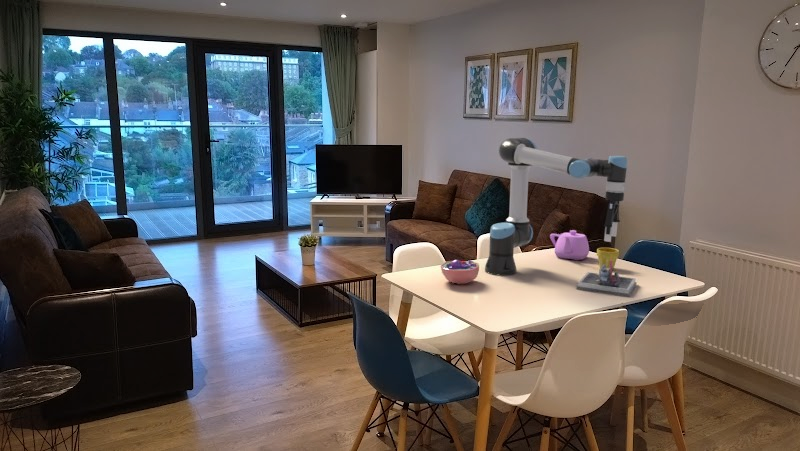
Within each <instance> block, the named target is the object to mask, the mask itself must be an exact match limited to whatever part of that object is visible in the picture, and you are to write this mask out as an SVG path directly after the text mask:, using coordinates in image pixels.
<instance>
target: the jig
mask: <svg viewBox="0 0 800 451" xmlns="http://www.w3.org/2000/svg"><path fill="white" fill-rule="evenodd" d="M596 274H599V272H597V273H596V272H589V271H588V272H587V273H586V274H585V275H584V276H582V278H581V279H580V280H579V281H578V283H577V285H576V286H575V287H576V288H575V289H576V290H579V291H587V292H591V293H592V292H593V293H601V294H607V295H612V296H618V297H619V296H620V297H625V298H630V297H631V295H632V294H633V292H634V290H635V288H636V287H637V282H638V281H637V280H636V278H635V277H627V276H620V275H619V278H620V284H619V286H604V285H603V283H602V282H601V281H596V280H599V277H598V276H597V275H596ZM636 281H637V282H636ZM632 291H633V292H632Z"/></svg>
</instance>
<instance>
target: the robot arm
mask: <svg viewBox="0 0 800 451" xmlns="http://www.w3.org/2000/svg"><path fill="white" fill-rule="evenodd" d="M498 154H499V157H500V158H501V159H502V160H503V162H506V163H508V164H507V166H508V167H509V168H510V185H509V186H510V189H509V210H508V211H509V213H508V217H507V218H506V219H505V222H498V223H494V224H492V225H491V226H490V232H489V255H488V258H487V260H486V262H485V266H484V272H486V273H488V272H489V273H488V274H491V273H492V275H496V274H499V275H498V276H509V275H515V274H516V273H517V265H516V263H515V259H514V252H515V251H514V249H515V248H518V247H524V246H525V245H527V244H529V243H530V242H531V241H532V239H533V237H534V236H533V235H534V231H533V227H532V226H531V223H530V219H529V218H528V217H527V216H528V215H527V214H528V192H529V174H530V173H529V172H530V171H529V170H530V169H531V168H532V167H538V168H542V169H546V170H549V171H552V172H553V171H554V172H559V173H562V174H565V175H570V176H572V177H573V178H575V179H584V178H590V177H602V178H606V186H605V190H606V192H605V200H606V201H609V203H607V211H606V216H605V223H603V227H605V228H604V237H603V238H604V239H603V241H604V242H609V243H612V237H615V238H616V237H617V234H618V224H619V223H620V202H622V201H624V198H625V193H624V192H625V188H626V187H627V184H625V183H626V178H627V169H628V158H627V157H626V156H624V155H610V156H609V157H608V159H600V158H599V159H598V158H584V159H581V158H578V157H577V158H575V157H572V156H568V155H562V154H560V153H559V154H558V153H554V152H550V151H545V150H541V149H538V148H537V145H536V143H535V142H534V141H533V140H532V139H530V138H526V137H515V138H514V137H509V138H506V139H504V140H503V141H502V142H501V143H500V145H499V148H498Z"/></svg>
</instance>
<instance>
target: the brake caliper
mask: <svg viewBox="0 0 800 451" xmlns="http://www.w3.org/2000/svg"><path fill="white" fill-rule="evenodd" d="M598 270H599V271H598V274H596V275H597V276H598V277H599V280H596V281H601V282H602V283H603V285H604V286H619V284H620V278H619V276H620V275H619V273H618V271H614V274H613V269H612V260H611V261H610V265H609V268H606V265H602V267H601V268H600V267H599V269H598Z"/></svg>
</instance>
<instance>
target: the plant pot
mask: <svg viewBox="0 0 800 451" xmlns="http://www.w3.org/2000/svg"><path fill="white" fill-rule="evenodd" d="M619 254H620V250H619V249H617V248H612V247H598V248H597V249H596V256H597V258H598V265H599V269H600V268H601V267H602V265H606V268H609V265H610V261H611V260H612V270H614V268H615V265H616V262H617V259H618V258H619Z"/></svg>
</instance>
